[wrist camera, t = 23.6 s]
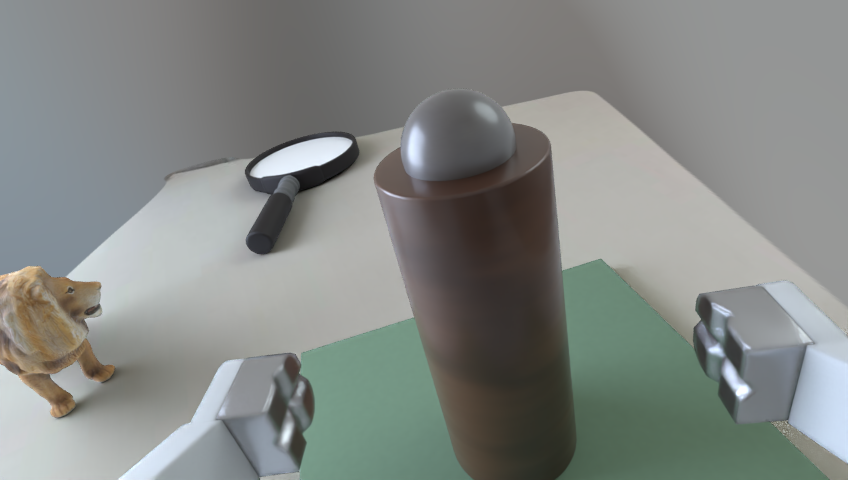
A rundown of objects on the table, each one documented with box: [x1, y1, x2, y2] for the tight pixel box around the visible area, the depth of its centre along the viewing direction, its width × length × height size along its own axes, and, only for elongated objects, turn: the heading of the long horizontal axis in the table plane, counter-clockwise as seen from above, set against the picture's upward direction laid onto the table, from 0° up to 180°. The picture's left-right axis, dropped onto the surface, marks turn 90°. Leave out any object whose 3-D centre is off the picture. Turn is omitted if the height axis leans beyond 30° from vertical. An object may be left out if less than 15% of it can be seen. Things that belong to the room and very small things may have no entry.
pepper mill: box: [374, 88, 577, 480], centre depth 16 cm, size 5×5×14 cm
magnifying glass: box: [245, 132, 359, 254], centre depth 49 cm, size 12×24×2 cm, turn 1°
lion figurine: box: [0, 266, 115, 418], centre depth 29 cm, size 15×5×9 cm, turn 59°
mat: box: [300, 259, 829, 480], centre depth 20 cm, size 18×18×1 cm
